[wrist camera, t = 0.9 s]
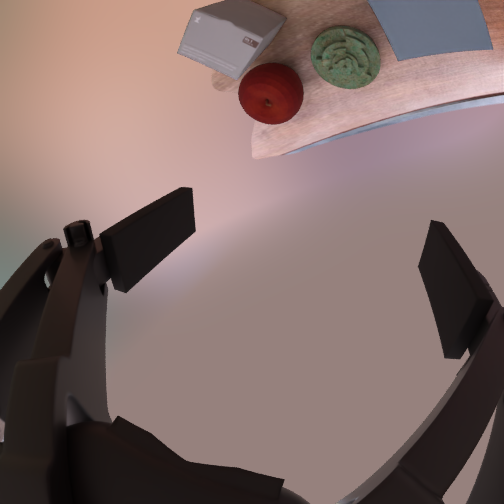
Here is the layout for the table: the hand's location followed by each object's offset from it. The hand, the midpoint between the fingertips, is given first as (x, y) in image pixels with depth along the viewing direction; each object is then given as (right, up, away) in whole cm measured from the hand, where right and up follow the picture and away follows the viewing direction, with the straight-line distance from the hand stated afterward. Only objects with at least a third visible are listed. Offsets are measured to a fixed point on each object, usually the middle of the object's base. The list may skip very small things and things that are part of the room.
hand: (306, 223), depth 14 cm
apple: (+2, +27, +25) cm, 36 cm away
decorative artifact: (+11, +28, +17) cm, 34 cm away
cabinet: (+17, +33, +3) cm, 37 cm away
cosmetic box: (-2, +33, +16) cm, 37 cm away
